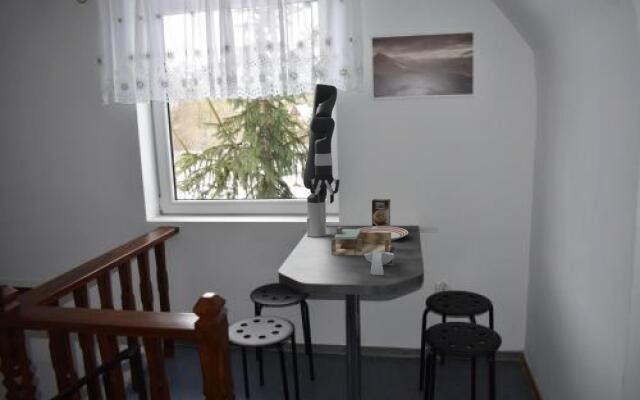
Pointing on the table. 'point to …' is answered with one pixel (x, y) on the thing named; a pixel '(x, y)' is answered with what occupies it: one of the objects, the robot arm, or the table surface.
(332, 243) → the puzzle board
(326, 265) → the table surface
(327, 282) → the table surface
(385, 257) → the spoon rest
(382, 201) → the coffee box
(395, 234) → the dinner plate
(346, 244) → the walnut block
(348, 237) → the sliding cover
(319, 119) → the robot arm
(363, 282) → the table surface
